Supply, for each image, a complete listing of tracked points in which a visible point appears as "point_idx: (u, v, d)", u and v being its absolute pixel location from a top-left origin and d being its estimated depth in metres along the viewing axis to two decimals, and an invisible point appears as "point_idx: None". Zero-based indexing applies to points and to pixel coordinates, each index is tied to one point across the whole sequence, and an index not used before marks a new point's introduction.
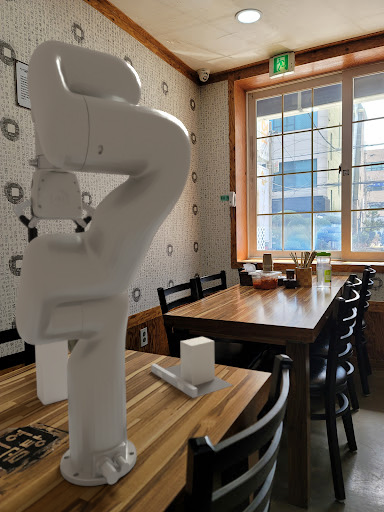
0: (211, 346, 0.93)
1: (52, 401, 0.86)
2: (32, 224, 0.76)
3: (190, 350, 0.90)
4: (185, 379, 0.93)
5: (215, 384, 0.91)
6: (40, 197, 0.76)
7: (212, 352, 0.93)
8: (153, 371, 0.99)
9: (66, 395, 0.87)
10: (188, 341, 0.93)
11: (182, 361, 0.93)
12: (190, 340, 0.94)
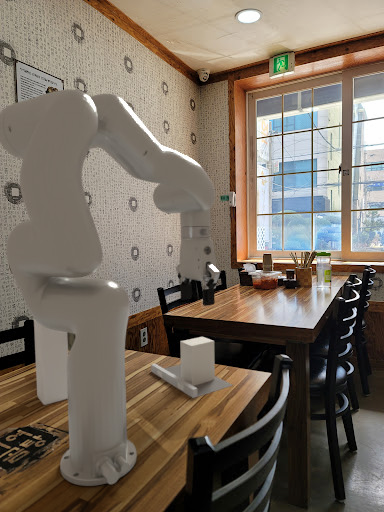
0: (211, 346, 0.93)
1: (52, 401, 0.86)
2: None
3: (190, 350, 0.90)
4: (185, 379, 0.93)
5: (215, 384, 0.91)
6: None
7: (212, 352, 0.93)
8: (153, 371, 0.99)
9: (66, 395, 0.87)
10: (188, 341, 0.93)
11: (182, 361, 0.93)
12: (190, 340, 0.94)
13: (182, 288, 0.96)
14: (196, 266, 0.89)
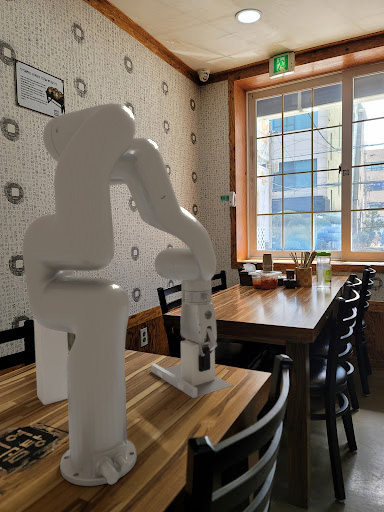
0: None
1: (52, 401, 0.86)
2: None
3: (190, 350, 0.90)
4: (185, 379, 0.92)
5: (215, 384, 0.91)
6: None
7: (212, 352, 0.93)
8: (153, 371, 0.99)
9: (66, 395, 0.87)
10: (188, 341, 0.93)
11: (182, 361, 0.93)
12: (190, 340, 0.94)
13: None
14: (197, 330, 0.89)
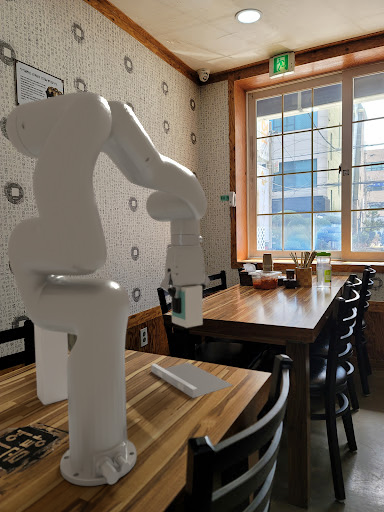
0: None
1: (52, 401, 0.86)
2: None
3: (200, 290, 0.94)
4: (193, 323, 0.93)
5: (215, 384, 0.91)
6: None
7: None
8: (153, 371, 0.99)
9: (66, 395, 0.87)
10: (187, 286, 0.94)
11: (188, 307, 0.92)
12: (185, 286, 0.94)
13: (180, 301, 0.93)
14: (201, 271, 0.95)
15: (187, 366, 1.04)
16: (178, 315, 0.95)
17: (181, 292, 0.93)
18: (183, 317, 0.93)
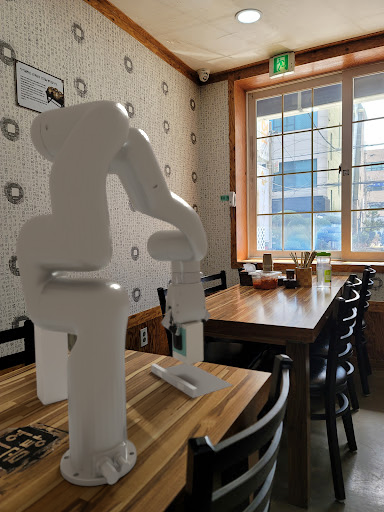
0: None
1: (52, 401, 0.86)
2: None
3: (201, 327, 0.95)
4: (194, 360, 0.94)
5: (215, 384, 0.91)
6: None
7: None
8: (153, 371, 0.99)
9: (66, 395, 0.87)
10: (187, 323, 0.94)
11: (189, 344, 0.93)
12: (185, 323, 0.95)
13: (181, 338, 0.94)
14: (201, 307, 0.96)
15: (187, 366, 1.04)
16: (179, 351, 0.95)
17: (182, 329, 0.94)
18: (184, 354, 0.93)
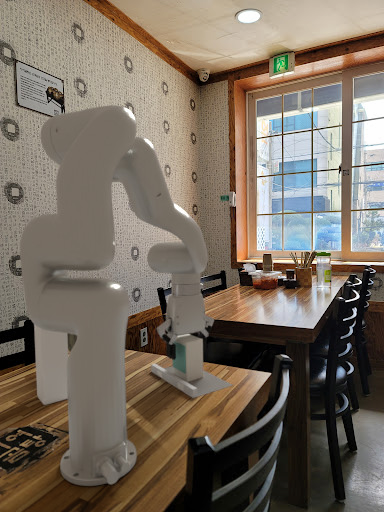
0: None
1: (52, 401, 0.86)
2: None
3: (201, 344, 0.95)
4: (193, 377, 0.94)
5: (215, 384, 0.91)
6: None
7: None
8: (153, 371, 0.99)
9: (66, 395, 0.87)
10: (187, 340, 0.94)
11: (189, 361, 0.93)
12: (185, 339, 0.95)
13: (175, 347, 0.93)
14: (201, 318, 0.96)
15: None
16: (179, 368, 0.95)
17: (182, 346, 0.94)
18: (184, 371, 0.93)
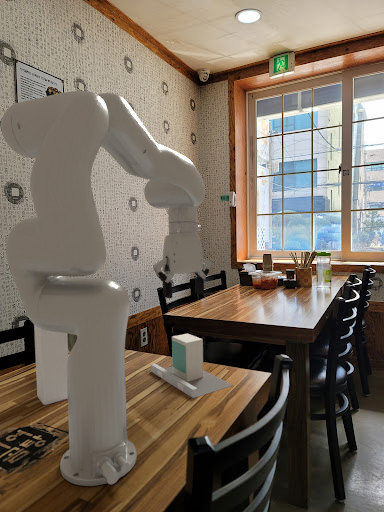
0: None
1: (52, 401, 0.86)
2: None
3: (201, 344, 0.95)
4: (193, 377, 0.94)
5: (215, 384, 0.91)
6: None
7: None
8: (153, 371, 0.99)
9: (66, 395, 0.87)
10: (187, 340, 0.94)
11: (189, 361, 0.93)
12: (185, 339, 0.95)
13: (171, 286, 0.92)
14: (198, 259, 0.95)
15: None
16: (179, 368, 0.95)
17: (182, 346, 0.94)
18: (184, 371, 0.93)
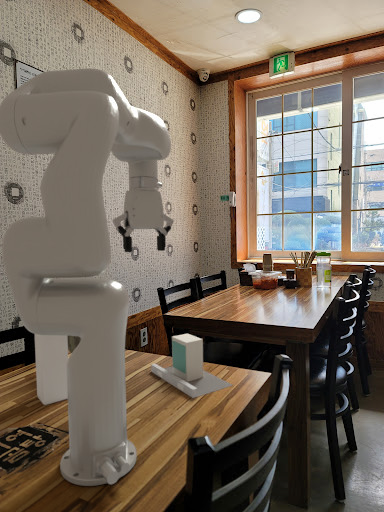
0: None
1: (52, 401, 0.86)
2: None
3: (201, 344, 0.95)
4: (193, 377, 0.94)
5: (215, 384, 0.91)
6: None
7: None
8: (153, 371, 0.99)
9: (66, 395, 0.87)
10: (187, 340, 0.94)
11: (189, 361, 0.93)
12: (185, 339, 0.95)
13: (131, 240, 0.94)
14: (159, 215, 0.97)
15: None
16: (179, 368, 0.95)
17: (182, 346, 0.94)
18: (184, 371, 0.93)
